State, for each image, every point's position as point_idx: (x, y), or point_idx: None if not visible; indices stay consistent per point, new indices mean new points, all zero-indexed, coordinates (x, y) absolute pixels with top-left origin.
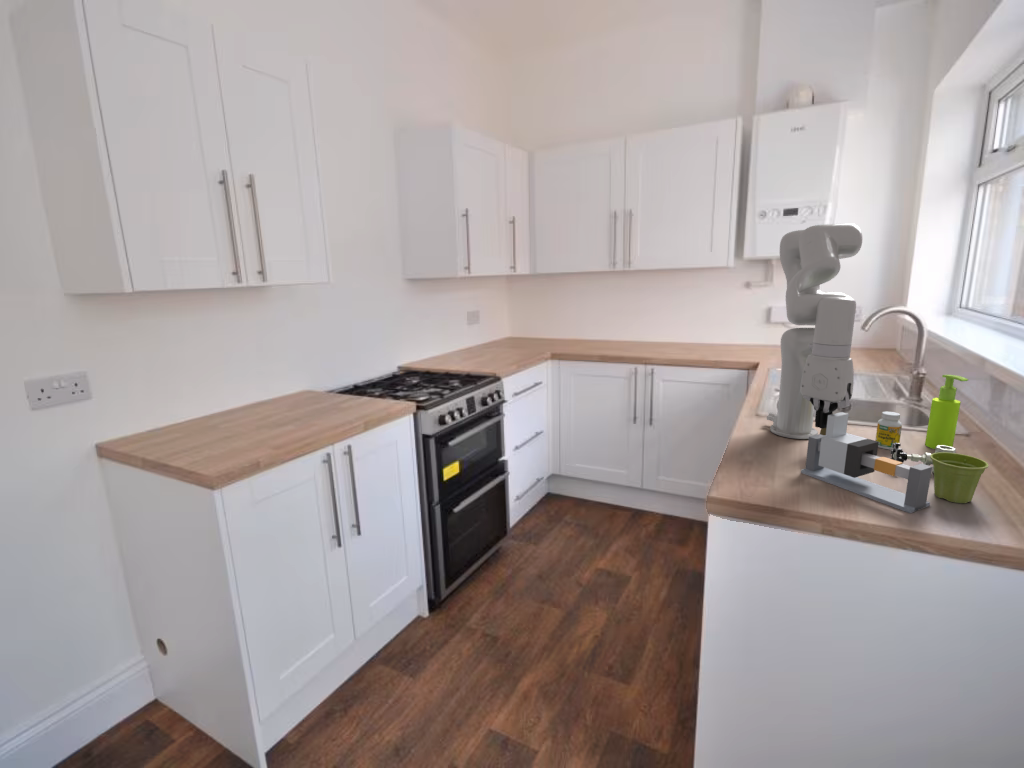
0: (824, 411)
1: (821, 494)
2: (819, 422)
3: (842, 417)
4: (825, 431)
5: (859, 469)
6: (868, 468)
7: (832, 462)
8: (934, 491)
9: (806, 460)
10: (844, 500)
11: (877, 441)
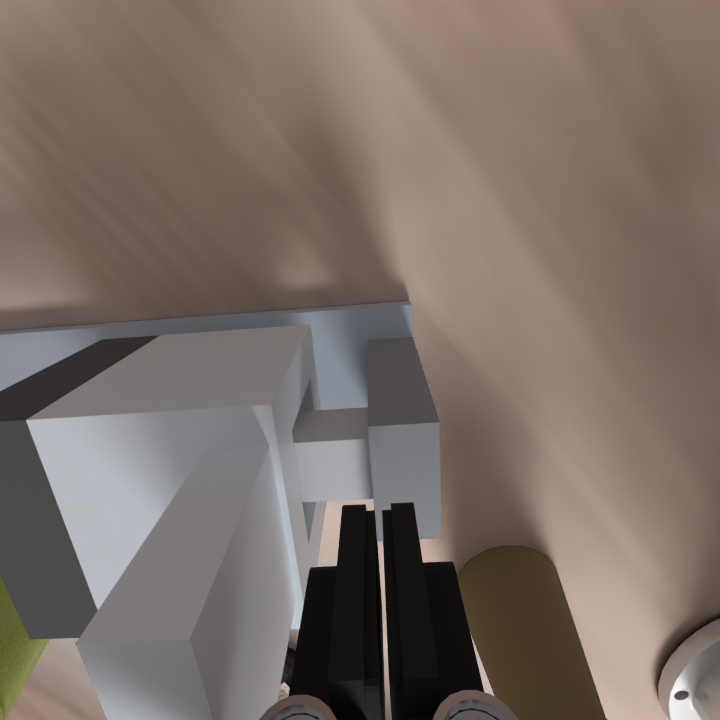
0: (318, 716)
1: (160, 151)
2: (371, 545)
3: None
4: (552, 677)
5: None
6: None
7: (214, 343)
8: None
9: (415, 351)
10: (74, 196)
11: (37, 637)
